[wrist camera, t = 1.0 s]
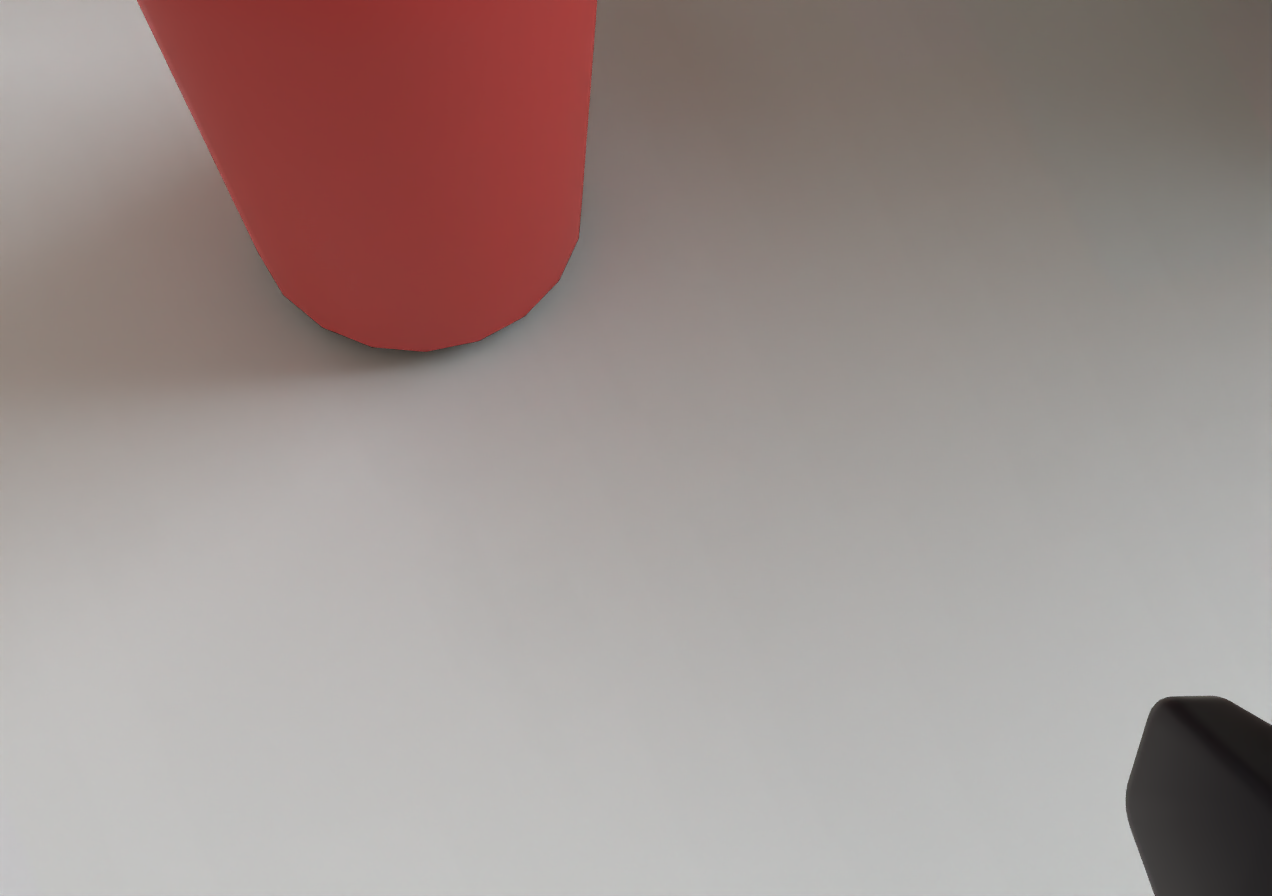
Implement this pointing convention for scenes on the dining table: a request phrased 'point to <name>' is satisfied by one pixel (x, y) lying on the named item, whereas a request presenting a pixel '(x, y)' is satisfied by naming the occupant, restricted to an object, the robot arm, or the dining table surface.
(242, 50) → the beer can
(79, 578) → the dining table surface
